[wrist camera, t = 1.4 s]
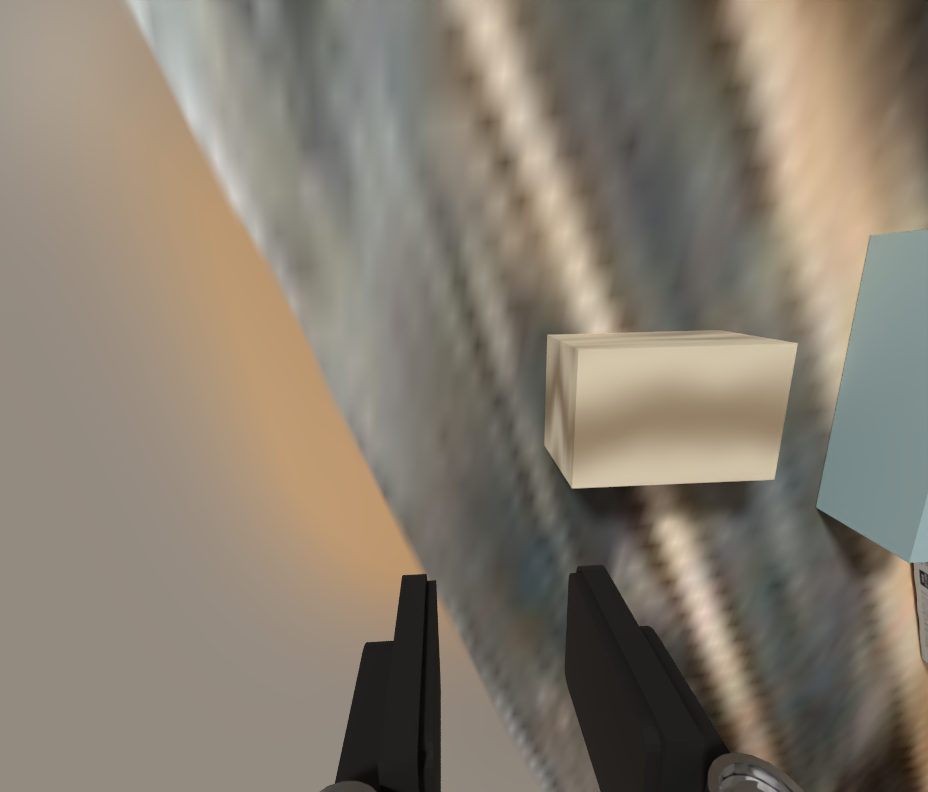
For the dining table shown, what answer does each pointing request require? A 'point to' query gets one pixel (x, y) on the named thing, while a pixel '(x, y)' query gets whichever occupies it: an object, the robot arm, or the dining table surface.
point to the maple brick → (666, 406)
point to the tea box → (922, 604)
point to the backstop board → (885, 404)
